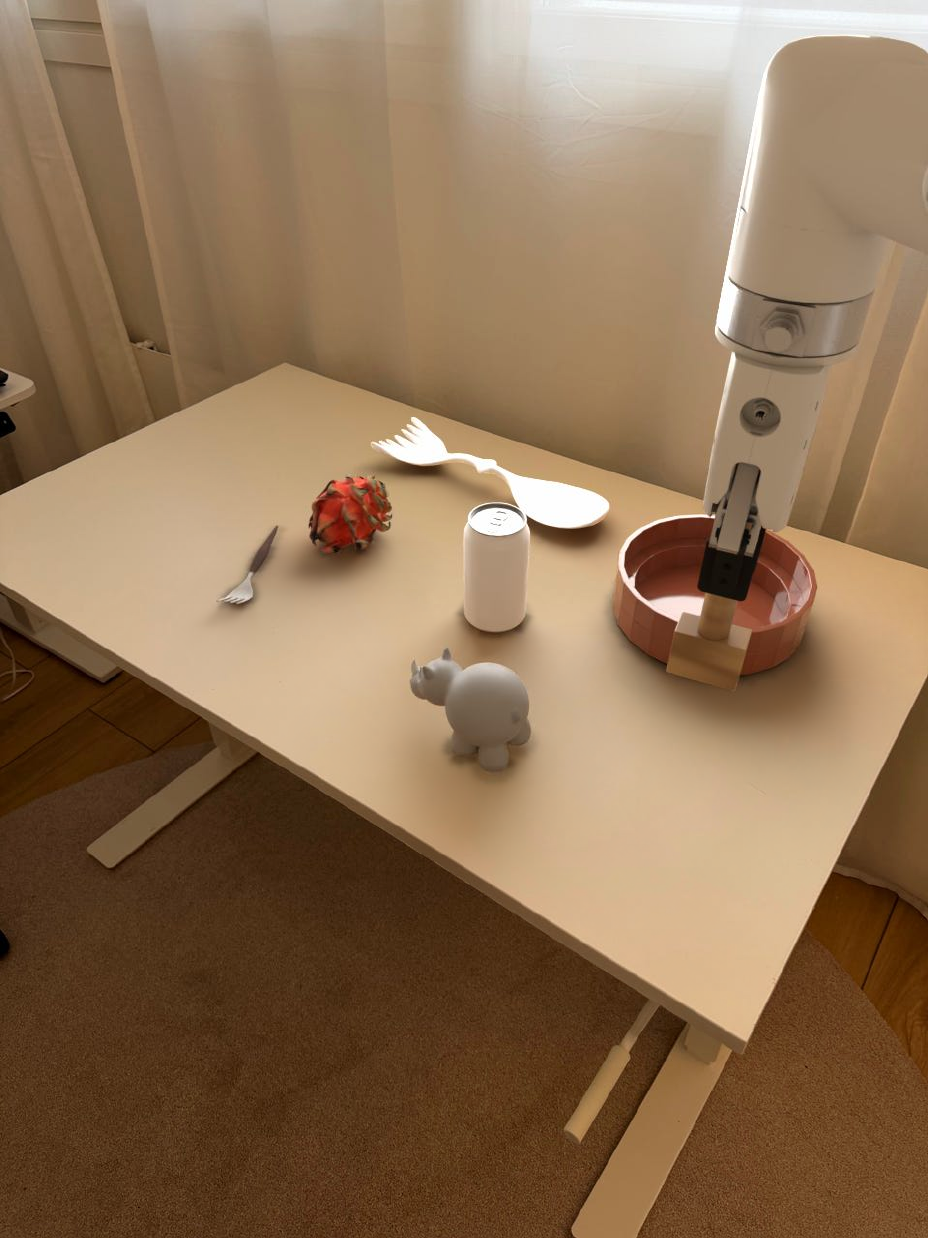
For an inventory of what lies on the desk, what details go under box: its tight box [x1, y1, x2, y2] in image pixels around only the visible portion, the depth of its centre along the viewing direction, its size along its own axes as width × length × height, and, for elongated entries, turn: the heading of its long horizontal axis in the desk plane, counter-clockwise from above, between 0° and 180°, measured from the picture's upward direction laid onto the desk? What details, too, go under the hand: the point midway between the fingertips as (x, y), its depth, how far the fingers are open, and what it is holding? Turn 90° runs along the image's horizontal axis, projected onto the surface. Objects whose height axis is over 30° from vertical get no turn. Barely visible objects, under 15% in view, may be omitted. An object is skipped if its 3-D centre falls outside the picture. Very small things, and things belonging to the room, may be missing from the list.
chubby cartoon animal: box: [409, 646, 532, 773], centre depth 78 cm, size 7×12×8 cm, turn 51°
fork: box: [216, 525, 279, 605], centre depth 98 cm, size 3×16×2 cm, turn 171°
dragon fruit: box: [308, 473, 393, 554], centre depth 101 cm, size 8×8×12 cm
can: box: [462, 502, 531, 634], centre depth 89 cm, size 6×6×12 cm
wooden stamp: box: [665, 522, 752, 692], centre depth 61 cm, size 5×2×14 cm, turn 66°
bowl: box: [612, 513, 818, 676], centre depth 91 cm, size 19×19×6 cm
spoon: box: [370, 416, 610, 530], centre depth 110 cm, size 9×32×4 cm, turn 53°
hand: (726, 579), depth 60 cm, fingers closed on wooden stamp, 2 cm apart
